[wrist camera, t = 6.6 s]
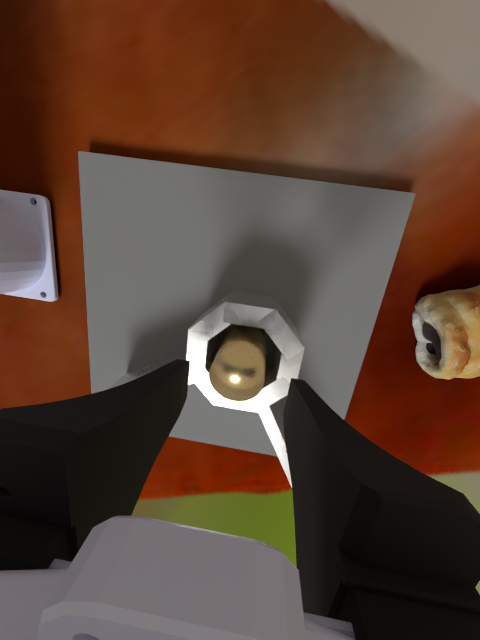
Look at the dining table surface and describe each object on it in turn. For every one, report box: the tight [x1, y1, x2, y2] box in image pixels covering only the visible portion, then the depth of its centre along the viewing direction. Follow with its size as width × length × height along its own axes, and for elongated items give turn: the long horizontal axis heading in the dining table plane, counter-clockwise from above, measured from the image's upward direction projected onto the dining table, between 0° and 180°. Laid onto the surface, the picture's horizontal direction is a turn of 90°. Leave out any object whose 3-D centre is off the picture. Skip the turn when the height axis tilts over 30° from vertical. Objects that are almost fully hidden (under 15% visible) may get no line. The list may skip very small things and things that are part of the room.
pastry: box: [412, 285, 480, 379], centre depth 16 cm, size 9×7×4 cm
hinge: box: [109, 289, 305, 487], centre depth 17 cm, size 16×13×4 cm
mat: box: [78, 151, 416, 456], centre depth 19 cm, size 22×22×1 cm
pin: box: [209, 324, 267, 401], centre depth 16 cm, size 3×3×6 cm
